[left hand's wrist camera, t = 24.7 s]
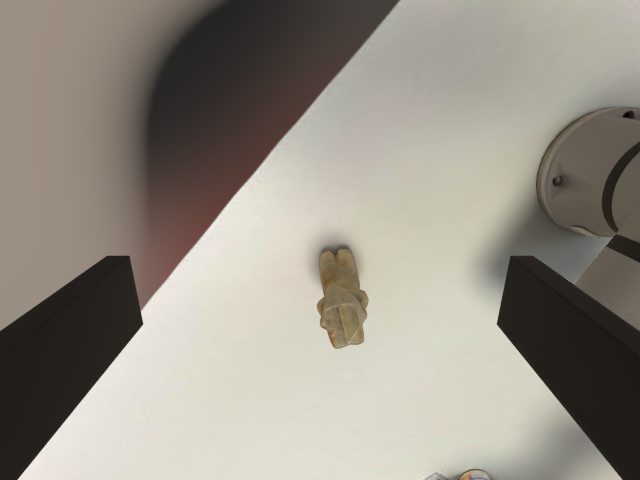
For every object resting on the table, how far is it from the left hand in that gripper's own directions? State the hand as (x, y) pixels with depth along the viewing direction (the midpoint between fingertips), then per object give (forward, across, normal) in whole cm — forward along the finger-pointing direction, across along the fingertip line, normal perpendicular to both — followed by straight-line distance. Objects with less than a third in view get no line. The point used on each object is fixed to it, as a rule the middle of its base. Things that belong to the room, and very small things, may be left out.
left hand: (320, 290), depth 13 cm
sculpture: (+34, +3, -15) cm, 37 cm away
